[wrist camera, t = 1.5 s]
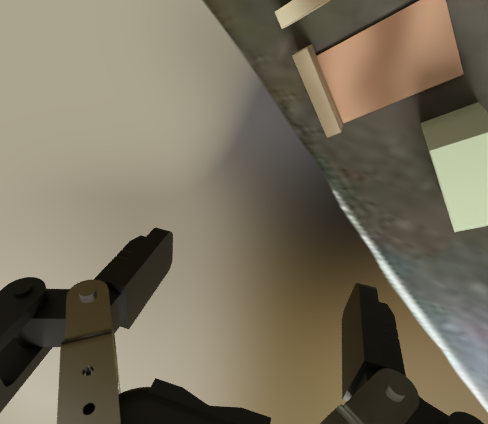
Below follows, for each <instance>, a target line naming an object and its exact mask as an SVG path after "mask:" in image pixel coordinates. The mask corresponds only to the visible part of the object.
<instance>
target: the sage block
mask: <svg viewBox="0 0 488 424" xmlns="http://www.w3.org/2000/svg"><path fill="white" fill-rule="evenodd" d="M420 124H421V127H422V130H423V134H424V137H425V140H426V143H427V147H428V150H429V153H430V156H431V160H432V163H433V166H434V169H435V172H436V176H437V179H438V182H439V185H440V189H441V192H442V195H443V198H444V201H445V204H446V207H447V210H448V213H449V216H450V219H451V222H452V226H453V229H454V232H457V231H462V230H467V229H473V228H478V227H483V226H488V112H487V111H486V110H485V109H484V108H483V107H482V105H481V104H480V103H479V102H477V103H474V104H472V105H469V106H466V107H463V108H461V109H458V110H455V111H452V112H450V113H447V114H444V115H441V116H439V117H436V118H433V119H430V120H428V121H425V122H422V123H420Z"/></svg>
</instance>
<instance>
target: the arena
mask: <svg viewBox="0 0 488 424" xmlns="http://www.w3.org/2000/svg"><path fill="white" fill-rule="evenodd" d="M329 1H330V0H292V1H291V2H289V3H288V4H286V5H285V6H283V7H282V8H280V9H279V10H277V11H275V14H276V16H277V19H278V21H279V23H280V26H281V28H285V27H288V26H290V25H291V24H293V23H295V22H296V21H298V20H300V19H301V18H303V17H304V16H306V15H308V14H309V13H311V12H312V11H314V10H316V9H317V8H319V7H320V6H322V5H324V4H325V3H327V2H329ZM292 57H293V59H294V62H295V64H296V66H297V69H298V71H299V73H300V76H301V78H302V80H303V83H304V85H305V87H306V90H307V92H308V94H309V96H310V99H311V101H312V103H313V106H314V108H315V110H316V113H317V115H318V117H319V120H320V122H321V124H322V127H323V129H324V131H325V134H326V136H327V138H328V137H330V136H333V135H335V134H338V133H340V132H341V131H342V127H343V123H345V122H348V121H350V120H353V119H355V118H358V117H360V116H362V115H365V114H367V113H370V112H372V111H375V110H377V109H380V108H382V107H385V106H387V105H389V104H392V103H394V102H397V101H399V100H402V99H404V98H407V97H409V96H412V95H414V94H416V93H419V92H421V91H424V90H426V89H429V88H431V87H434V86H436V85H439V84H441V83H443V82H446V81H448V80H451V79H453V78H456V77H458V76H461V75H463V69H462V65H461V61H460V57H459V53H458V49H457V45H456V40H455V36H454V32H453V28H452V24H451V20H450V16H449V12H448V7H447V3H446V0H419V1H417V2H415V3H414V4H412V5H410V6H408V7H406V8H404V9H402V10H401V11H399V12H397V13H395V14H393V15H391V16H389V17H388V18H386V19H384V20H382V21H380V22H378V23H377V24H375V25H373V26H371V27H369V28H367V29H365V30H364V31H362V32H360V33H358V34H356V35H354V36H352V37H351V38H349V39H347V40H345V41H343V42H341V43H340V44H338V45H336V46H334V47H332V48H330V49H328V50H327V51H325V52H323V53H321V54H319V55H316V53H315V50H314V48H313V45H312V44H310V45H308V46H307V47H305V48H303V49H301V50H300V51H298V52H297V53H295V54H294V55H293V56H292Z"/></svg>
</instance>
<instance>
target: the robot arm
mask: <svg viewBox="0 0 488 424" xmlns="http://www.w3.org/2000/svg"><path fill="white" fill-rule="evenodd" d="M172 251H173V234H172V232H170V231H166V230H162V229H159V228H154V229H153V230H152V231H151V232H150V234H149V235H147V237H144V236H139V237H137V238H135V239H133V240H131V241H130V242H129V243H128V244H127V245H126V246H125V247H124V248H123V250H121V251H120V252H119V254H118V255H117V257H115V258H114V259H113V260H112V261H111V262H110V263H109V264H108V265H107V266H106V267H105V268H104V269H103V270H102V271H101V273H99V275H98V276H97V277H96V278H95V279H94V280H86V281H82V282H80V283H77V284H76V285H74V286H73V287H72V288H71V289H46V286H45V283H44V282H43V281H42V280H40V279H38V278H34V277H27V278H22V279H18V280H15V281H14V282H11V283H10V284H8V285H7V286H6V287H4V288H3V289H2V290H1V291H0V412H1V411H2V410H3V409H4V407H5V406H6V405H7V404H8V402H9V401H10V400H11V399H12V397H13V396H14V395H15V394H16V392H17V391H18V390H19V388H20V387H21V386H22V385H23V384H24V382H25V381H26V380H27V379H28V377H29V376H30V375H31V374H32V372H33V371H34V370H35V369H36V367H37V366H38V365H39V364H40V362H41V361H42V360H43V359H44V357H45V356H46V355H47V354H48V352H49V351H50V350H51V349H52V347H61V351H60V372H59V393H58V412H57V424H270V421H271V418H270V417H267V416H264V415H261V414H258V413H255V412H252V411H249V410H247V409H244V408H237V407H219V406H209V405H207V404H206V403H204V402H202V401H201V400H200V399H198V398H197V397H195V396H194V395H192V394H191V393H190V392H188V391H187V390H185V389H184V388H182V387H179V386H176V385H173V384H171V383H168V382H165V381H162V380H159V379H155V380H154V382H153V384H152V386H151V387H142V388H136V389H131V390H128V391H125V392H123V393H120V384H119V375H118V365H117V355H116V345H115V335H114V333H115V332H116V331H117V329H118V328H119V327H120V326H121V327H124V328H127V329H129V328H130V327H131V325H132V324H133V322H134V321H135V319H136V318H137V317H138V315H139V314H140V312H141V311H142V309H143V308H144V306H145V305H146V303H147V302H148V300H149V299H150V298H151V296H152V295H153V293H154V292H155V290H156V289H157V287H158V286H159V284H160V283H161V281H162V280H163V278H164V277H165V276H166V274H167V273H168V271H169V269H170V266H171V263H172V253H173V252H172ZM342 393H343V394H342V399H344V400H347V402H346V403H345V404H344V405H343V406H342V405H339V406H338V407H337V408H336V409H335V410H334V411H333V412H331V413H330V415H328V416H327V417H326V418H325V419H324V420H323V421H322V422H321V423H320V424H484V423H482V422H481V421H480V420H479V419H477V418H476V417H474V416H472V415H470V414H468V413H465V412H454V413H452V414H451V415H450V416H448V415H446V414H445V413H443V412H441V411H440V410H438V409H437V408H435V407H433V406H432V405H430V404H428V403H427V402H425V401H424V400H423V399H422V398H420V397H419V395H418V392H417V390H416V388H415V386H414V385H413V383H412V382H411V381H410V380H409V379H408V378H407V377H406V375H405V370H404V364H403V359H402V354H401V348H400V343H399V339H398V333H397V329H396V322H395V316H394V314H393V313H392V311H391V310H390V308H389V307H388V305H387V304H385V303H381V302H379V301H378V294H377V289H376V288H375V287H371V286H367V285H364V284H360V283H356V284H355V286H354V288H353V290H352V293H351V295H350V297H349V299H348V302H347V304H346V306H345V309H344V312H343V317H342Z"/></svg>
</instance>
